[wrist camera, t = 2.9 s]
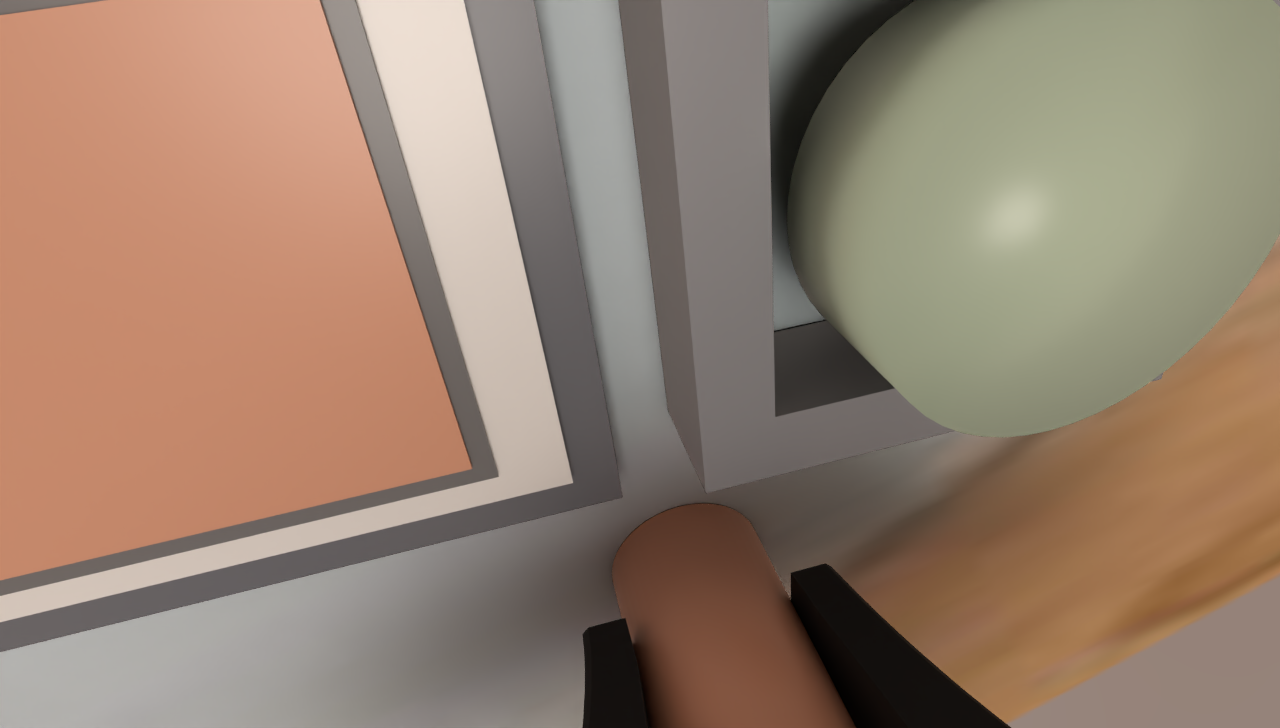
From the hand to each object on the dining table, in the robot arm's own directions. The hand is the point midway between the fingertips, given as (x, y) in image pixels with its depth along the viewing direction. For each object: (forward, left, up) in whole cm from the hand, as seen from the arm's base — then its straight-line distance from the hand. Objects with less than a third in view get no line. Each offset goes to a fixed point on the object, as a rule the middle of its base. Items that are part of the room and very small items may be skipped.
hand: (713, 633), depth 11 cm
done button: (+7, -4, 0) cm, 8 cm away
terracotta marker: (0, 0, -2) cm, 2 cm away
